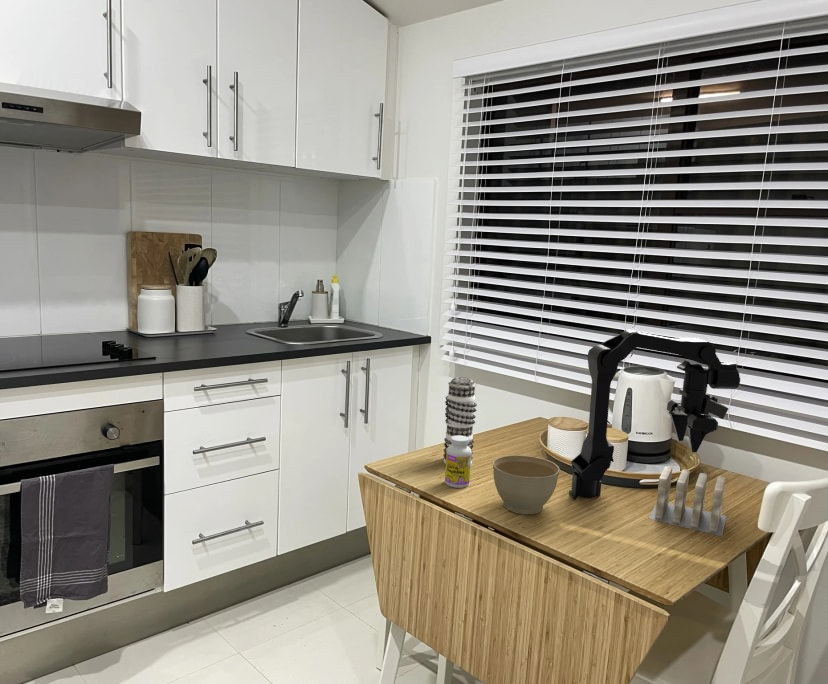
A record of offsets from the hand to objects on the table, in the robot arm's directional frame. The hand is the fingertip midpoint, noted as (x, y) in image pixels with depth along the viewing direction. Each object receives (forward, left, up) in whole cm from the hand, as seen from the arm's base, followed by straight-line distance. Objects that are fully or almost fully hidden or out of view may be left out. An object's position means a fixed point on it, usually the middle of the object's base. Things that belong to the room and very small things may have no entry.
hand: (687, 446), depth 170 cm
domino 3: (-4, -15, -13) cm, 21 cm away
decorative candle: (-55, +26, -14) cm, 63 cm away
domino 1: (-11, -11, -13) cm, 20 cm away
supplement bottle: (-58, +9, -14) cm, 61 cm away
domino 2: (-7, -13, -13) cm, 20 cm away
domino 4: (-1, -18, -13) cm, 22 cm away
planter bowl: (-44, -6, -14) cm, 47 cm away
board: (-6, -14, -14) cm, 21 cm away
